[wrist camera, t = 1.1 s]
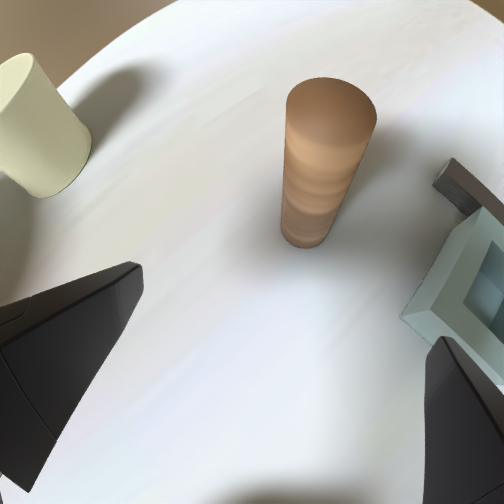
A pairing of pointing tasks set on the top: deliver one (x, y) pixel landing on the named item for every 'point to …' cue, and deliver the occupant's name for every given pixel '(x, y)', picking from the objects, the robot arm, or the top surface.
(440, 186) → the backstop bar
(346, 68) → the top surface
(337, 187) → the dowel
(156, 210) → the top surface
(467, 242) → the socket block
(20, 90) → the can
